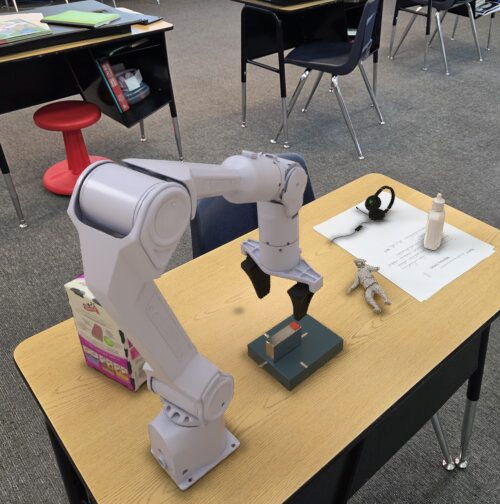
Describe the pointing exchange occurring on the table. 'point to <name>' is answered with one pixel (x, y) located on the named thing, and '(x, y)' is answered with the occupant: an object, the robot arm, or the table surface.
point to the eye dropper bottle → (435, 223)
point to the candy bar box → (103, 338)
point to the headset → (376, 206)
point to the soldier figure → (368, 283)
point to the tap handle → (283, 341)
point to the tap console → (298, 351)
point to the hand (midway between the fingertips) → (281, 305)
